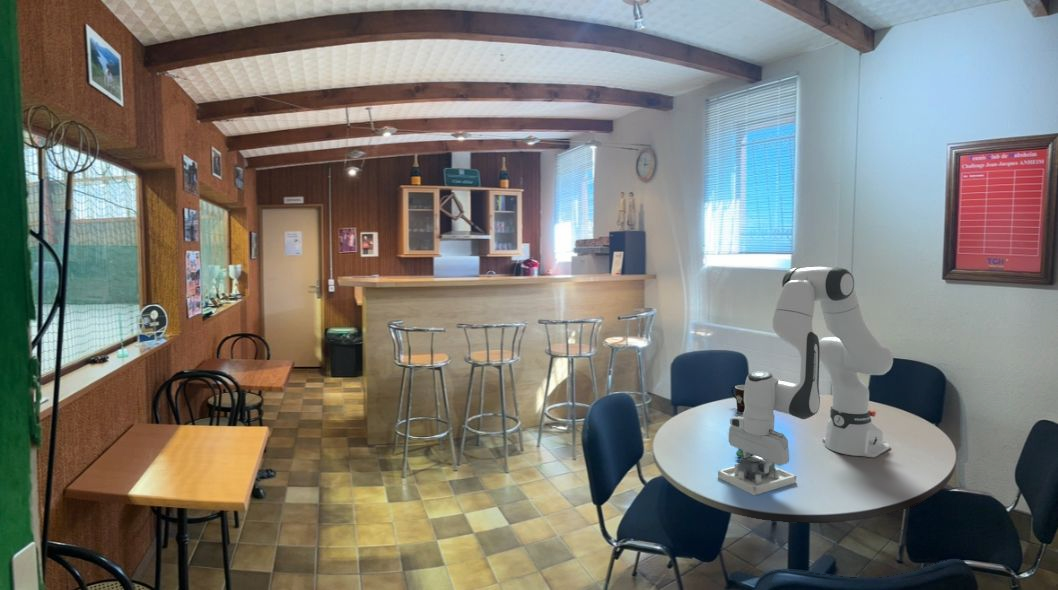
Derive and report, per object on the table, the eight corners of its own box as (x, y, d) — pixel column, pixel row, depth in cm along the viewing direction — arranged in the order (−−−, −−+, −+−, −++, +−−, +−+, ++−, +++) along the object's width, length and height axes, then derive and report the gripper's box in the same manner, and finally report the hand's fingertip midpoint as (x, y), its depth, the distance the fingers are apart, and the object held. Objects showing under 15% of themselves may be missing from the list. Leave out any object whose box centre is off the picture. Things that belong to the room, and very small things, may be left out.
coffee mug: (759, 413, 239) (759, 390, 238) (738, 413, 239) (739, 390, 238) (748, 405, 251) (749, 383, 250) (729, 405, 251) (729, 383, 250)
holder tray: (758, 466, 184) (759, 454, 184) (796, 482, 172) (796, 470, 172) (717, 477, 176) (718, 465, 176) (754, 495, 164) (754, 482, 164)
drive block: (762, 468, 178) (762, 452, 178) (774, 473, 174) (774, 457, 174) (739, 474, 174) (739, 458, 173) (751, 480, 170) (751, 463, 169)
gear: (750, 447, 197) (766, 434, 190) (761, 462, 194) (777, 450, 187) (727, 457, 192) (742, 444, 185) (738, 473, 189) (753, 460, 182)
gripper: (795, 433, 165) (793, 479, 166) (739, 414, 183) (738, 455, 184) (780, 437, 162) (778, 483, 163) (725, 417, 180) (724, 459, 181)
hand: (757, 468), depth 174 cm, fingers closed on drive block, 4 cm apart
